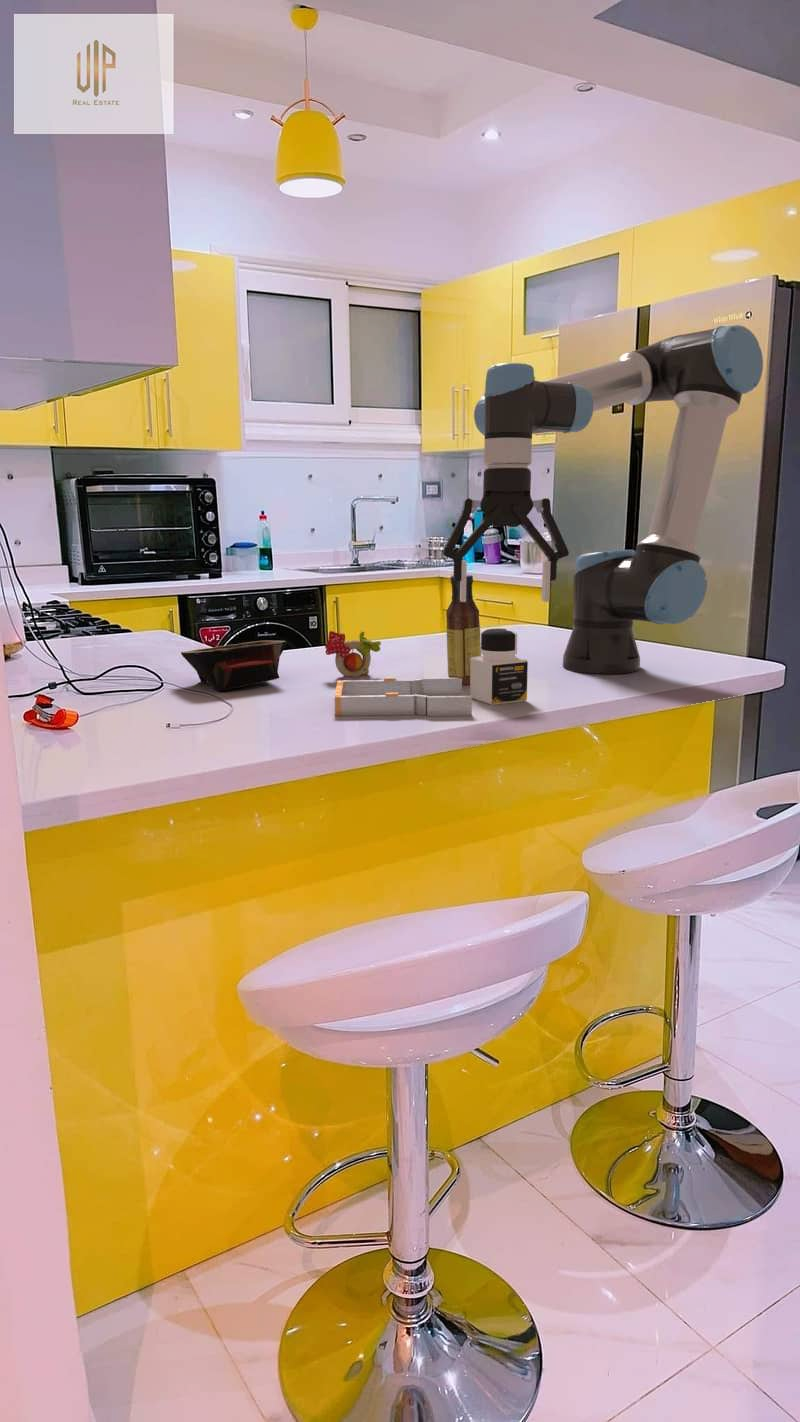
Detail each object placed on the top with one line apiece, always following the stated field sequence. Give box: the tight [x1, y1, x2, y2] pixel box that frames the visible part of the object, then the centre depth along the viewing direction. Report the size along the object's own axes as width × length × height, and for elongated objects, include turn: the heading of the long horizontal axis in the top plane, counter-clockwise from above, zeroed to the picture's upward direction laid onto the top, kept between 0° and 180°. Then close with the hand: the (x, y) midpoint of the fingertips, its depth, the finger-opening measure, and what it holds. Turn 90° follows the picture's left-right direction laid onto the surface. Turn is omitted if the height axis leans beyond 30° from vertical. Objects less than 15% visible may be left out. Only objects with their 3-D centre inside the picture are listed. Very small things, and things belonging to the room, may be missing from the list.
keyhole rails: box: [334, 676, 473, 717], centre depth 152 cm, size 22×16×3 cm
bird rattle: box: [324, 630, 382, 678], centre depth 176 cm, size 6×11×9 cm, turn 126°
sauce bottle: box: [445, 574, 482, 686], centre depth 169 cm, size 6×6×20 cm
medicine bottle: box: [469, 628, 529, 706], centre depth 155 cm, size 7×7×12 cm
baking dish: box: [180, 640, 288, 692], centre depth 169 cm, size 14×18×10 cm
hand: (504, 601), depth 151 cm, fingers open, 13 cm apart
